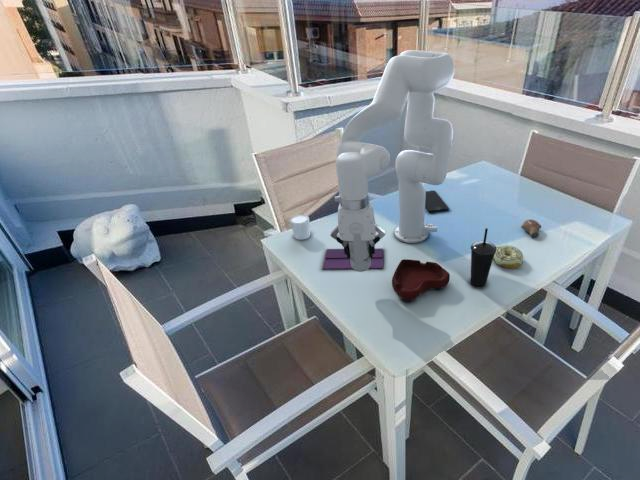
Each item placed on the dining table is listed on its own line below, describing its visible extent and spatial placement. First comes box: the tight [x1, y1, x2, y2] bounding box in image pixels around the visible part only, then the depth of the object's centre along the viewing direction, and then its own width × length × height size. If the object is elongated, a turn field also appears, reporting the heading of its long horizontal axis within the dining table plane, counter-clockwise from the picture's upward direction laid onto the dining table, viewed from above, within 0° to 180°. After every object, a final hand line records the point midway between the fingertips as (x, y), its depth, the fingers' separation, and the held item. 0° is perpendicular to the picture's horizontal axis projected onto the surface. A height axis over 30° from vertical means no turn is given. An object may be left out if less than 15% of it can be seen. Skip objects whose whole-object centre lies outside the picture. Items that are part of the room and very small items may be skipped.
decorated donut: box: [493, 244, 524, 270], centre depth 132 cm, size 10×11×4 cm
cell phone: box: [425, 190, 450, 214], centre depth 166 cm, size 9×18×1 cm, turn 17°
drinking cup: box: [470, 227, 497, 289], centre depth 117 cm, size 8×8×20 cm
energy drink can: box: [348, 233, 371, 273], centre depth 112 cm, size 6×6×15 cm
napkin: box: [322, 248, 384, 270], centre depth 132 cm, size 20×11×1 cm, turn 92°
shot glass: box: [289, 214, 311, 241], centre depth 142 cm, size 7×7×7 cm
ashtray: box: [391, 258, 451, 303], centre depth 120 cm, size 18×16×5 cm
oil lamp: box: [520, 218, 542, 238], centre depth 147 cm, size 9×4×8 cm
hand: (360, 254), depth 114 cm, fingers closed on energy drink can, 6 cm apart
